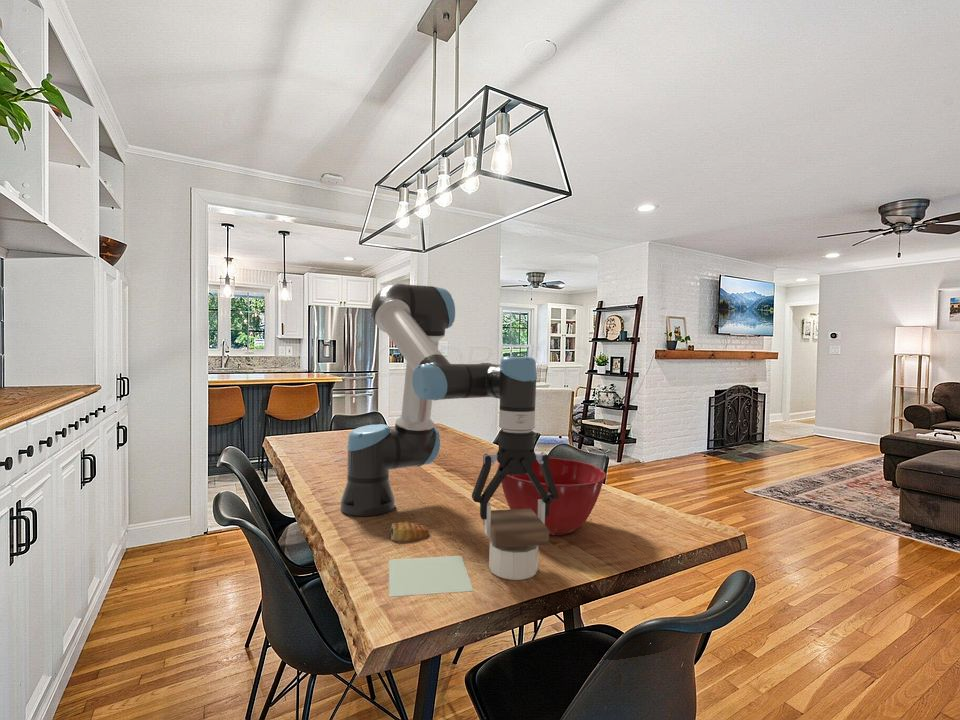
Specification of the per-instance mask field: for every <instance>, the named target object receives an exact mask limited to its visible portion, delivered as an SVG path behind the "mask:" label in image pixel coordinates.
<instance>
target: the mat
mask: <svg viewBox="0 0 960 720" xmlns="http://www.w3.org/2000/svg"><path fill="white" fill-rule="evenodd" d="M388 573H389V574H388V590H389V591H388V597H389V598H392V597H393V598H394V597H407V596H409V597H410V596H419V595H420V596H422V595H434V594H435V595H436V594H437V595H438V594H448V593H451V594H452V593H453V594H454V593H462V592H463V593H465V592H474V589H473V586H472V583H471V580H470V577H469V573H468V571H467V568H466V565H465V562H464V560H463V556H462V555H451V556H450V555H448V556H447V555H446V556H429V557H428V556H427V557H413V558H397V559H395V558H394V559H388Z"/></svg>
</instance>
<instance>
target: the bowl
mask: <svg viewBox="0 0 960 720" xmlns="http://www.w3.org/2000/svg"><path fill="white" fill-rule="evenodd" d="M488 554H489V557H488V559H489V561H488V568H489V570H490V572H491V574H493V575H495V576H497V577H498V578H501V579H504V580H511V581H523V580H526V579H532V578H534V577H535V576H536V574H537V572H538V569H539V545H538V546H520V547H501V548H495V546H494V544H493V542H492V540H491V539H490V540H489V553H488ZM534 575H535V576H534ZM533 576H534V577H533ZM531 577H532V578H531Z"/></svg>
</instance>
